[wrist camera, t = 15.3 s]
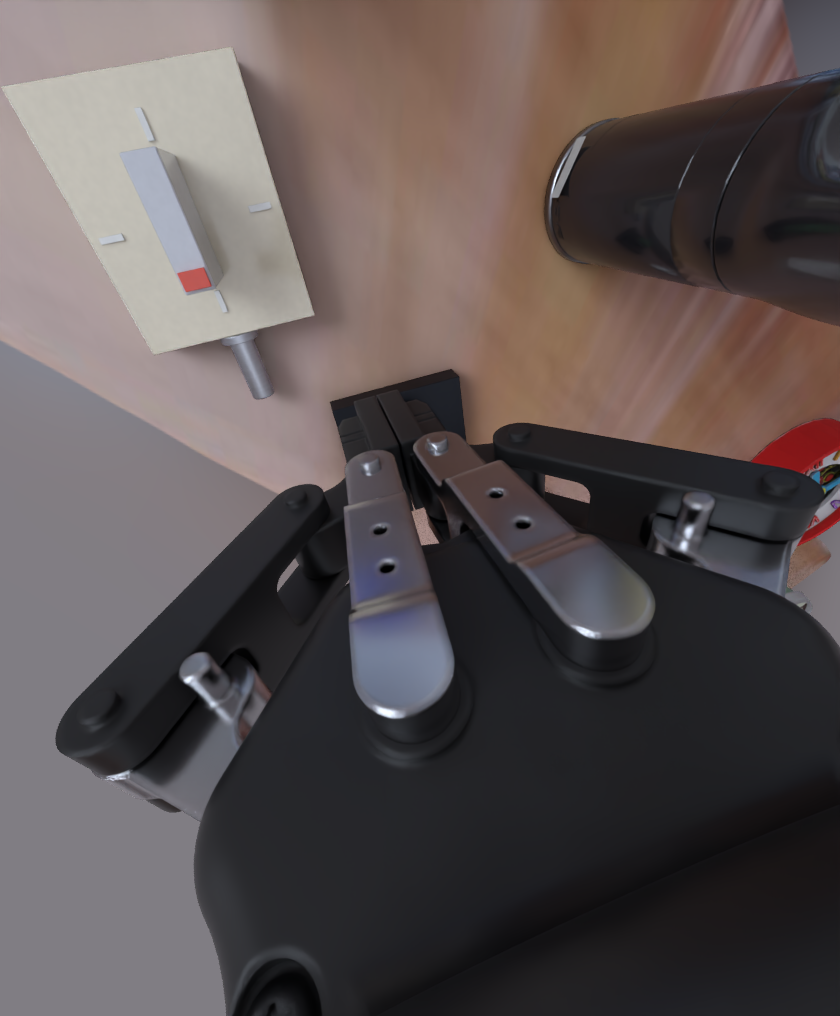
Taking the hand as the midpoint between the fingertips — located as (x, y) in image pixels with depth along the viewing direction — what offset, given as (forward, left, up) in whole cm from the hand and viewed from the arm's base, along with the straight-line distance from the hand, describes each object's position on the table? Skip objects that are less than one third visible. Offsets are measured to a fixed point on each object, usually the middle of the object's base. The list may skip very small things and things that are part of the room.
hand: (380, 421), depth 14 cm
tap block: (+7, -6, -25) cm, 27 cm away
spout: (+7, +4, -25) cm, 26 cm away
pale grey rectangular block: (+7, -6, -22) cm, 24 cm away
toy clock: (-61, +40, -25) cm, 77 cm away
